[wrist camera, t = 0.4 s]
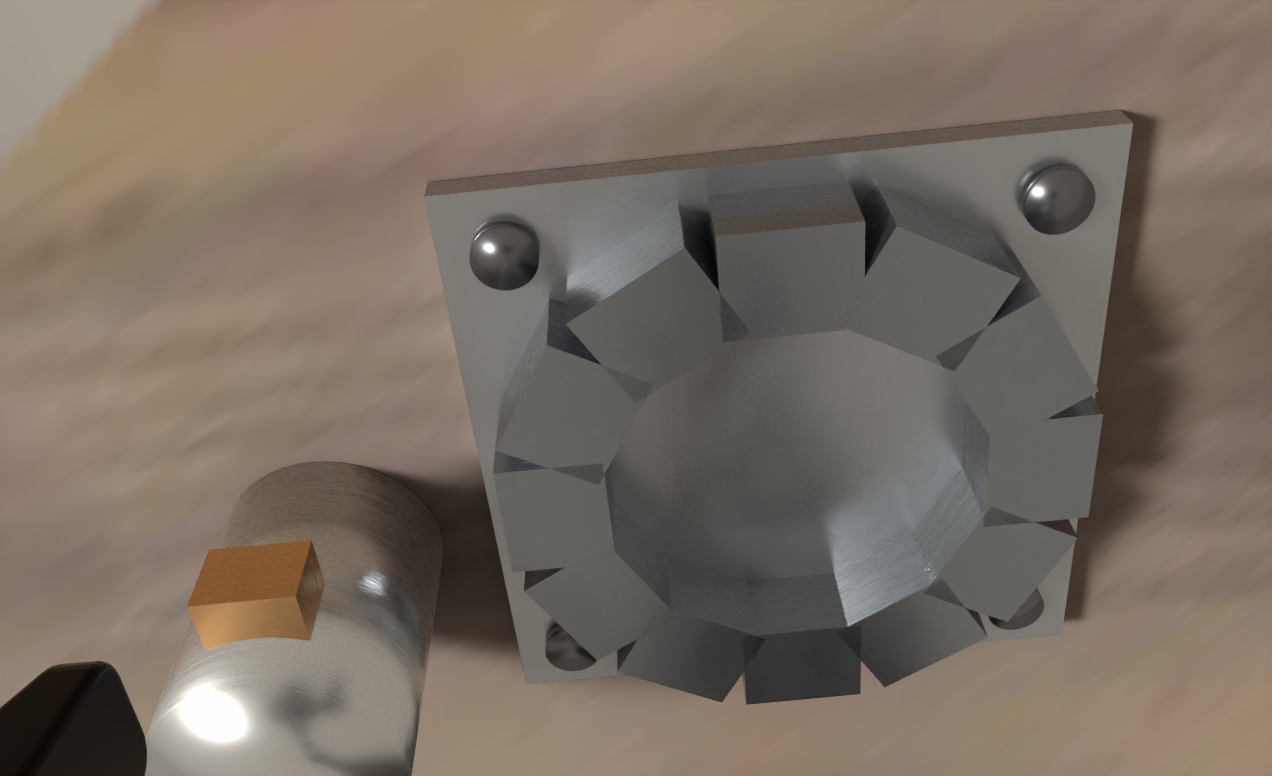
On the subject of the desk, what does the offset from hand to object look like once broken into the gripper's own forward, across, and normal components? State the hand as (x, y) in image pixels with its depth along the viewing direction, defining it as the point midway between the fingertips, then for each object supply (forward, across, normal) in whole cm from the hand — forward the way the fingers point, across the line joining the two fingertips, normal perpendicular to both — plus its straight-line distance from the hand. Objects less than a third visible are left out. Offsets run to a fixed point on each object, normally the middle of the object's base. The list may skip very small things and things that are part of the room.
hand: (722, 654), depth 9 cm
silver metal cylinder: (+14, +7, +10) cm, 18 cm away
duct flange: (+14, -2, +7) cm, 16 cm away
